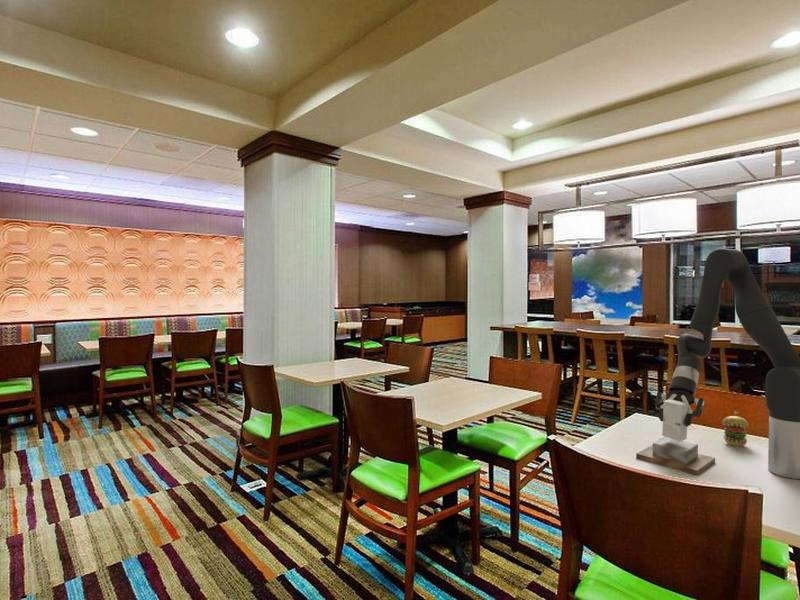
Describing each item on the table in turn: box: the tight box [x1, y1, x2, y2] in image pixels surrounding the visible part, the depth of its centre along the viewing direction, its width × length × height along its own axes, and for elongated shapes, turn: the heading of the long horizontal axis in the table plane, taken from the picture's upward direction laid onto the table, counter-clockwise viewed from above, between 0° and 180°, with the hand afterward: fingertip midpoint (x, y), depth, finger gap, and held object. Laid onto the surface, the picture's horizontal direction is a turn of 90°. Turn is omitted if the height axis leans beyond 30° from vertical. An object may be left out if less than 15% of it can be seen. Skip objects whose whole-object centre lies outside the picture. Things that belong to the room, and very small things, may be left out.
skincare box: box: [661, 399, 688, 441], centre depth 147 cm, size 6×4×12 cm
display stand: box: [636, 436, 716, 476], centre depth 148 cm, size 18×16×6 cm
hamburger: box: [722, 410, 749, 447], centre depth 162 cm, size 8×7×12 cm
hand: (673, 422), depth 146 cm, fingers closed on skincare box, 6 cm apart
